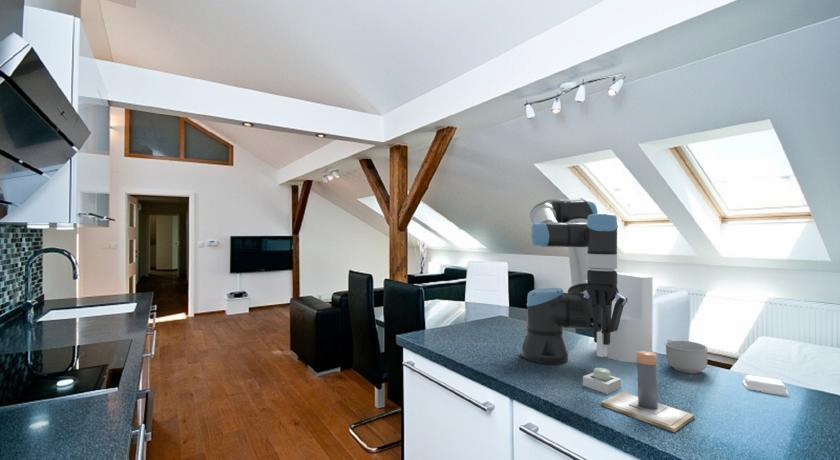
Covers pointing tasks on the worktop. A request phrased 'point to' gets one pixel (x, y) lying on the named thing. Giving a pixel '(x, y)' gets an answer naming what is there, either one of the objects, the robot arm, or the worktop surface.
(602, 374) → the button
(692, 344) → the teacup
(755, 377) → the soap
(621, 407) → the wooden picture frame
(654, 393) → the marker
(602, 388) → the button housing
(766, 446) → the worktop surface
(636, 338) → the cylinder
